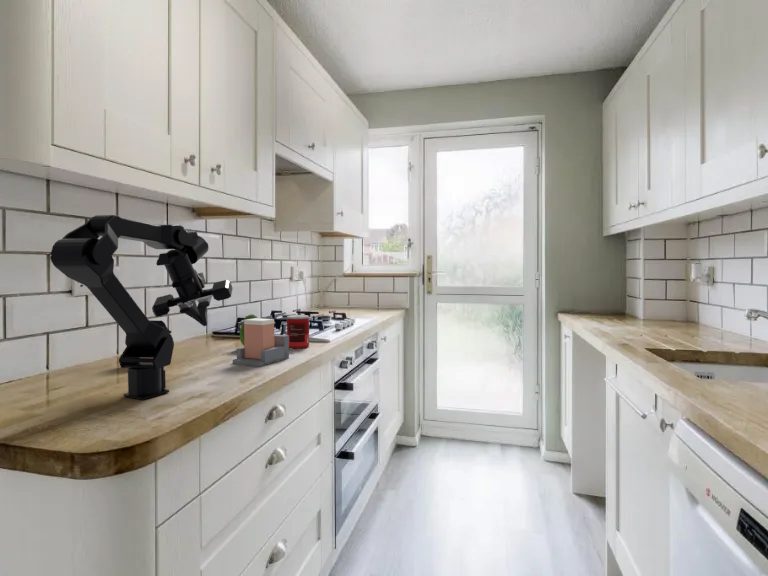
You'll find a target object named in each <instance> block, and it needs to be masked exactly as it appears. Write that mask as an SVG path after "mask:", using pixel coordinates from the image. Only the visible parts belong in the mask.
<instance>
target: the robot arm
mask: <svg viewBox="0 0 768 576" xmlns="http://www.w3.org/2000/svg"><path fill="white" fill-rule="evenodd" d="M119 239H123V240H129V241H137V242H142V243H144V244H145V245H146V246H147V247H149V248H152V249H155V250H168V251H167V252H163V253H159V254H158V258H157V260H156V264H155V265H156V266H157V267H158V266H164V268H165V270H166V272H167V274H168V276H169V278H170V280H171V287H172V288H173V289H175V291H176V294H177V295H178V297H174V295H173V294H171V293H170V294H166V295H165V294H164V295H161V296H158V297H156V298H155V301H154V303H153V305H152V307H151V309H152V313H153V315H154V316H155V318H158V317H162V316H166V315H168V314H169V312H170V310H171V308H173V307H175V306H176V307H178V309H179V314H185V315H187V316H188V317H190V318H192V319H193V320H195V321H196V322H197V323H198V324H200V325H201V326H202V327H207V326H208V310H207V309H208V307H209V306H210V305H211V300H212V299H213V300H216V301H217V302H220V301H224V300H227V299H230V298H231V297H232V294H233V286H232V283H231V282H230V281H229V280H228V279H225V280H220V281H216V282H213V285H212V287H211V288H206V289H205V286H206V284H207V282H206V279H205V276H204V273H203V271H202V272H198V271H197V269H195V268H194V266H193V264H196V263H197V262H199V260H200V259H201V258H203V257H204V255H206V254H207V253H208V252H209V244H208V242H207V241H206V240H205V239H204V238H203V237H201V236H200V235H198V232H197V231H188V232H187V231H186V230H185V227H184V226H183V225H181V224H175V223H174V224H152V223H148V222H142V221H137V220H133V219H128V218H125V217H121V216H118V215H116V214H107V215H106V214H102V215H101V214H100V215H94V216H92V217H89V219H88V220H87V221H85V223H83V224H82V225H80V226H79V227H76V228H75V229H74V230H71V231H69V232H67V234H65V235H64V236H63V237H62V238H61V239H58V240H57V241H55V243H54V244H53V245H52V248H51V251H50V257H49V258H50V261H51V263H52V265H53V266H54V267H55V268H56V269H57V270H58V271H59V272H61V273H62V274H63V275H65V276H66V277H67V278H69V279H71V280H73V281H75V282H76V283H80V284H81V285H83V286H85V287H87V289H88V290H89V291H90V292H91V293H92V295H93V296H94V297H95V298H96V300H97V301H98V302H99V303H100V304H101V306H102V307H103V308H104V310H106V312H107V313H108V314H109V315H110V316H111V317H112V319H113V320H114V321H115V322H116V323H117V325H118V326H119V327H120V328H121V329H122V330H123V332H124V333H125V337H124V338H125V339H124V344H125V346H126V347H125V348H124V349H123V351H122V353H121V354H120V356H119V358H118V363H119V366H120V368H121V369H124V368H125V369H127V390H128V391H127V392H126V393H123V397H125V398H131V399H136V400H147V399H150V398H154V397H157V396H161V395H164V394H168V393H169V392H170V389H167V388H166V387H167V385H166V383H167V382H166V370H165V367H168V366H170V365H171V363H172V358H173V353H174V347H175V342H174V338H173V335H171V333H172V330H169V328H168V327H167V325H166V323H165V322H164V321H163V320H151V319H148V317H147V316H146V315H145V313H144V312H143V310H142V309H141V308H140V307H139V305H138V304H137V303H136V301H135V300H134V298H133V297H132V295H130V293H129V291H128V290H127V289H126V288H125V287H124V285H123V284H122V283H121V281H120V280H119V279H118V277H117V276H116V275H115V273H114V266H115V265H114V264H115V260H114V258H113V254H115V252H116V251H117V250H118V249H119ZM197 302H198V303H197ZM150 358H153V359H150Z"/></svg>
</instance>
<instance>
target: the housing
mask: <svg viewBox="0 0 768 576" xmlns="http://www.w3.org/2000/svg"><path fill="white" fill-rule="evenodd" d="M287 359H290V348H289V336H288V335H287V334H286V335H285V334H275V333H274V348H270V349H266V350H262V351H261V359H253V358H245V350H244V346H241V347H237V348H236V358H235V359H232V364H234V363H235V364H236V365H243V364H244V366H251V367H262V366H266V365H269V364H272V363H278V362H280V361H282V360H287Z"/></svg>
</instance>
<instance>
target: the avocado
mask: <svg viewBox="0 0 768 576" xmlns="http://www.w3.org/2000/svg"><path fill="white" fill-rule="evenodd" d="M254 318H258V316H257V315H255V314H248V315H245V317H244V319H243V321H242V324H241V327H240V329H239V340H240V343H241V345H242V346H244V320H247V319H254Z"/></svg>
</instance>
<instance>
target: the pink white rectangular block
mask: <svg viewBox="0 0 768 576" xmlns="http://www.w3.org/2000/svg"><path fill="white" fill-rule="evenodd" d="M243 321H244V345H243V347H244V350H245V358H253V359H261V351H262V350H266V349H270V348H274V334H275V319H274V318H260V317H259V318H258V317H257V318H254V319H247V320H244V319H243Z"/></svg>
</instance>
